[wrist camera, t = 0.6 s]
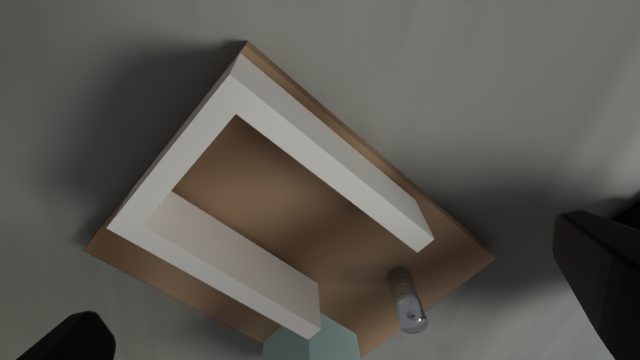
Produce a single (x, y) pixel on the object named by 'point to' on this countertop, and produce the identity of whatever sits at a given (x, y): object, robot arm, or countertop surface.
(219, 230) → the white bent bar
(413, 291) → the pin
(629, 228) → the robot arm
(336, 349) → the teal hollow cube
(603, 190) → the countertop surface
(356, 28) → the countertop surface
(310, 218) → the board
